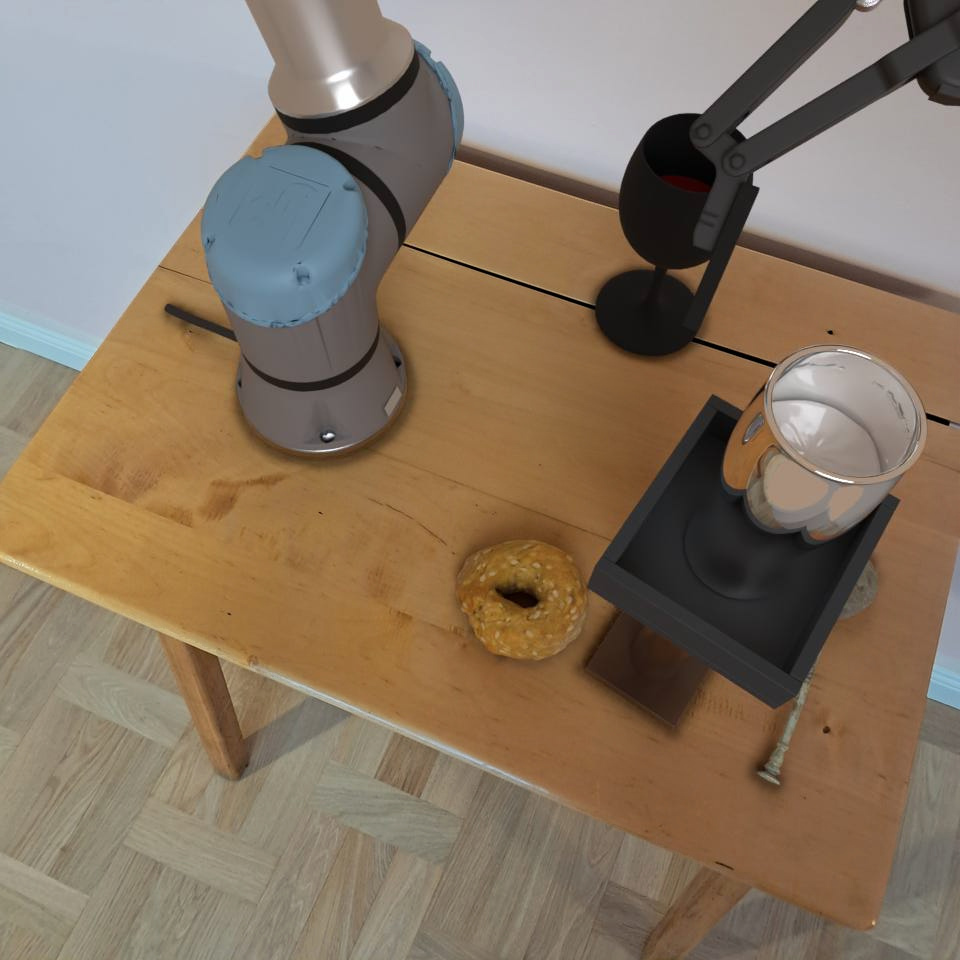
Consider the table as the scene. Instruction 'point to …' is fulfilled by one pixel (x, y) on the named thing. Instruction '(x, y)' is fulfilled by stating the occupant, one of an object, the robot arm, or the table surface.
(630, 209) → the wine glass
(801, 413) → the silver metal cup
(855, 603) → the soupspoon
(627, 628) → the stand
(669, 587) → the tray
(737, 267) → the table surface
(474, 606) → the bagel
